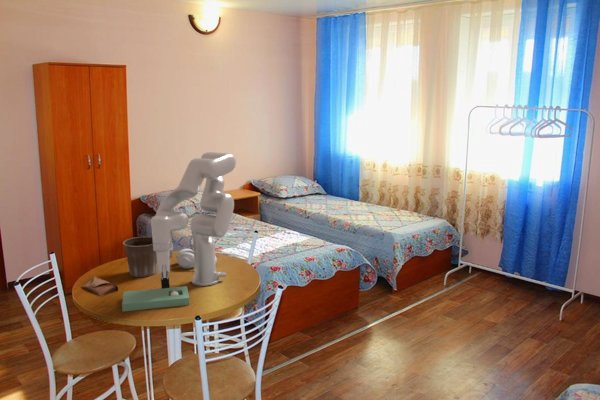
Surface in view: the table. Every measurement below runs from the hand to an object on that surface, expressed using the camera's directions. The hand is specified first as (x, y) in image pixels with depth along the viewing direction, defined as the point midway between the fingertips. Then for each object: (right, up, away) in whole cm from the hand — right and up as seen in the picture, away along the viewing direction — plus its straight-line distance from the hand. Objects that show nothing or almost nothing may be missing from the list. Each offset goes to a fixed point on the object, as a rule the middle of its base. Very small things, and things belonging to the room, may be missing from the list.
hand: (165, 287), depth 218 cm
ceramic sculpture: (-17, +6, +58) cm, 61 cm away
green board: (-4, -6, -1) cm, 7 cm away
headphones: (+4, +3, +47) cm, 48 cm away
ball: (+3, -4, +2) cm, 5 cm away
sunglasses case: (-33, -4, +14) cm, 36 cm away
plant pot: (-20, +1, +34) cm, 39 cm away
